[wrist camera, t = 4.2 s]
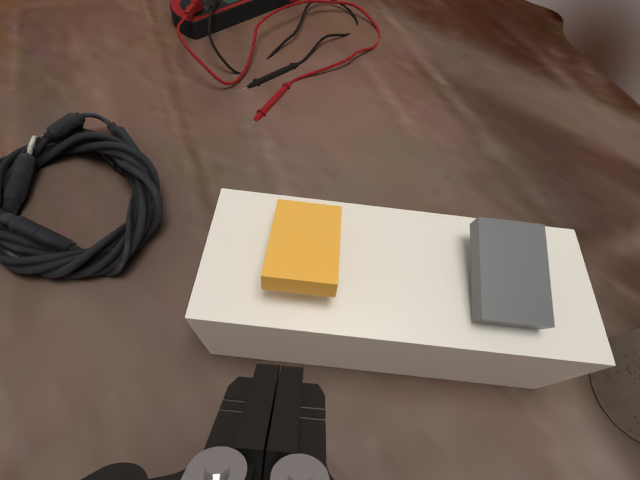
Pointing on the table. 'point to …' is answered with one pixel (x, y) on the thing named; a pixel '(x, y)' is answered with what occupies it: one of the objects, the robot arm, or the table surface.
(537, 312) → the flat grey slab box
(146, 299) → the table surface
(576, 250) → the switch box
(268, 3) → the digital clamp meter
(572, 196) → the table surface
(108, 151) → the cable
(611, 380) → the thermos bottle
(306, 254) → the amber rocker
